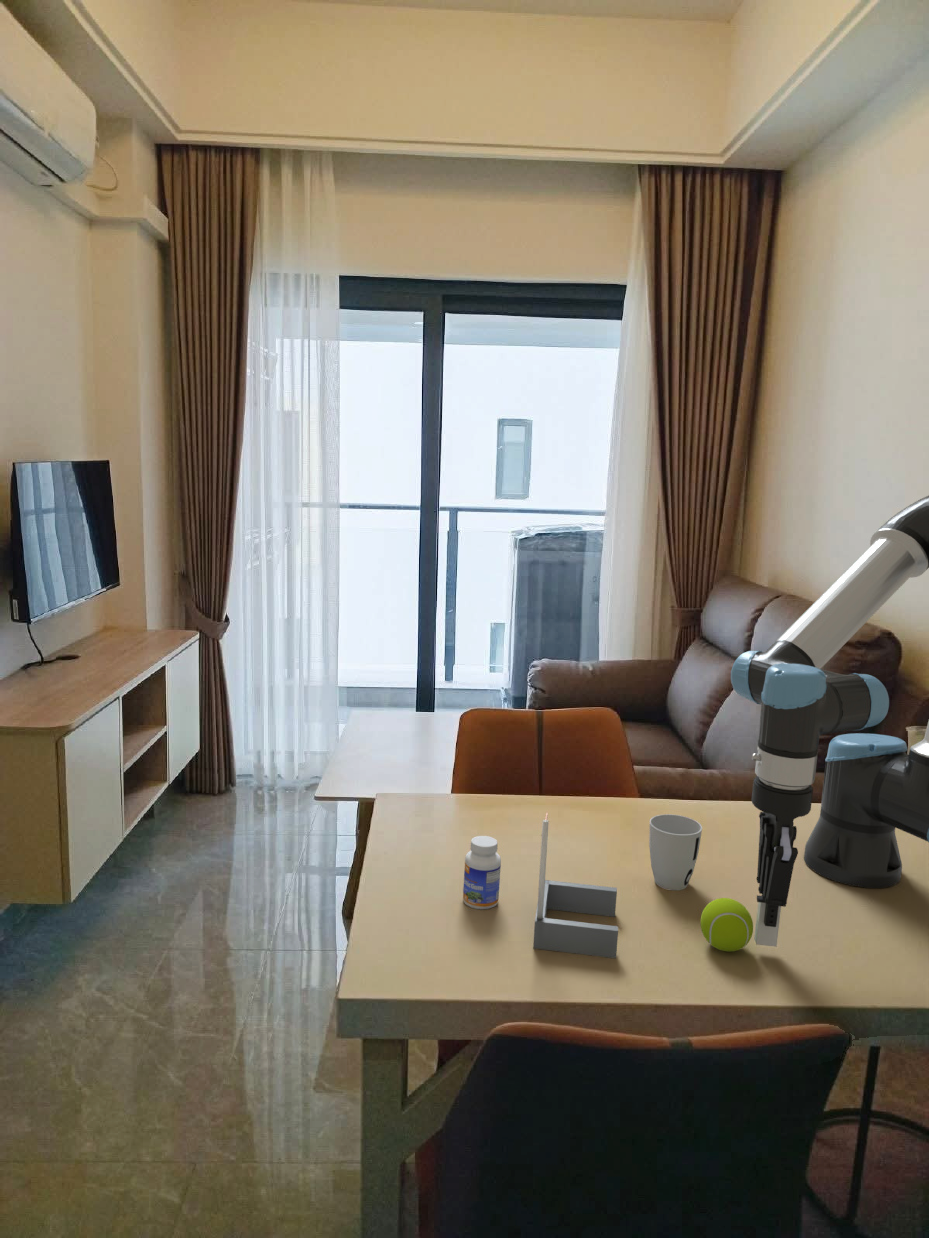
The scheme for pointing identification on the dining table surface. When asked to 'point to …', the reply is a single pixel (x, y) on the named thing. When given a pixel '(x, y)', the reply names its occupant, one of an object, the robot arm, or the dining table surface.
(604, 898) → the gray u frame
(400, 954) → the dining table surface
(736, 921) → the tennis ball
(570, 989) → the dining table surface
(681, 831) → the cup
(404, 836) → the dining table surface
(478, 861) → the pill bottle
